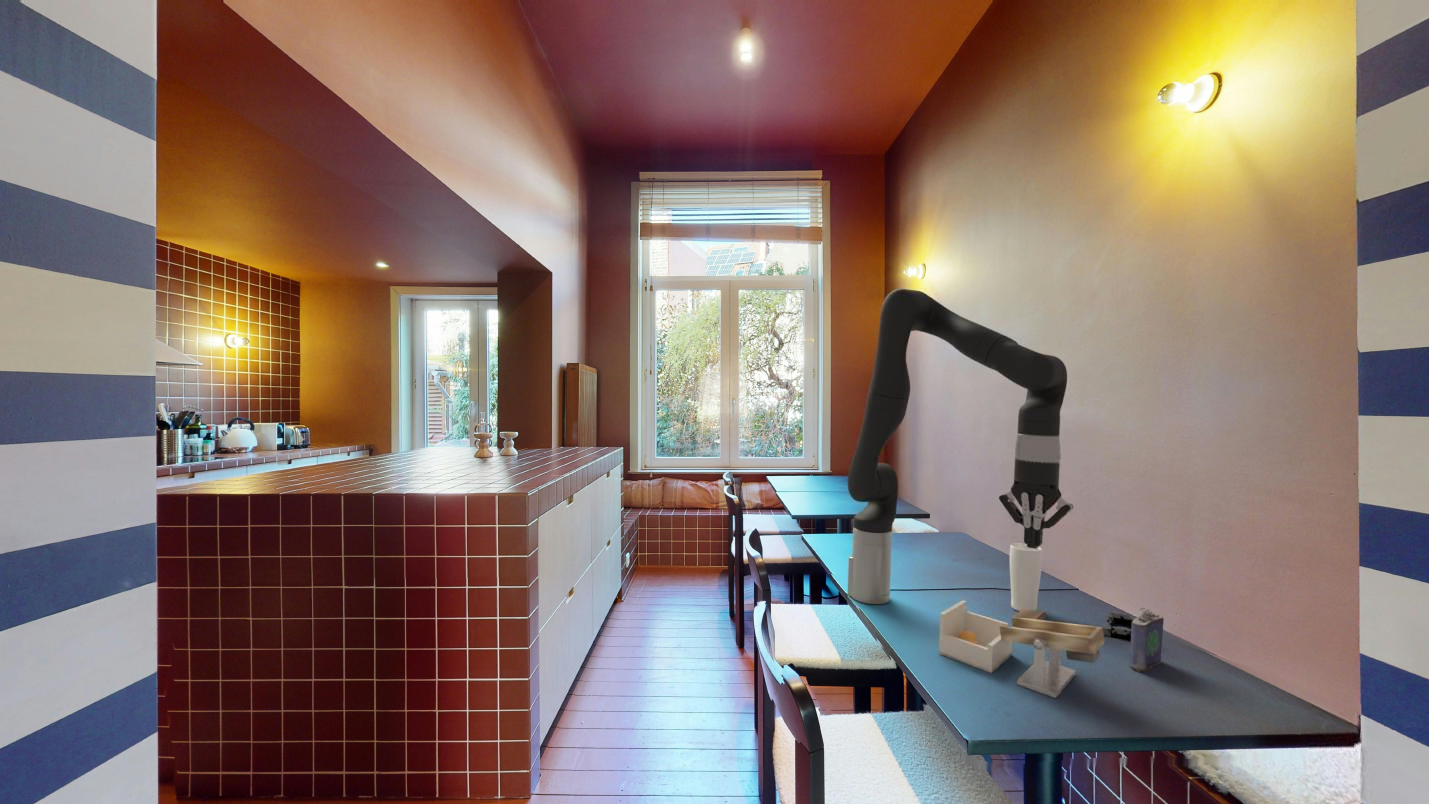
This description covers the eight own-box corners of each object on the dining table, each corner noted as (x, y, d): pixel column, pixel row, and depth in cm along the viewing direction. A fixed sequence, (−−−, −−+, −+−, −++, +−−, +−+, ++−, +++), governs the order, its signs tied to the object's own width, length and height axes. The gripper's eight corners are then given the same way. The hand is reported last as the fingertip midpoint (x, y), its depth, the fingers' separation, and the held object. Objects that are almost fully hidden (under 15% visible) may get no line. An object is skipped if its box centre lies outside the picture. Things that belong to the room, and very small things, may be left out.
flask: (1141, 673, 104) (1144, 616, 104) (1123, 666, 107) (1126, 610, 107) (1164, 662, 109) (1166, 607, 109) (1146, 656, 112) (1148, 602, 111)
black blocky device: (1090, 638, 121) (1090, 616, 121) (1082, 625, 127) (1083, 605, 127) (1161, 649, 116) (1162, 627, 116) (1149, 636, 123) (1150, 615, 122)
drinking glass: (1044, 616, 130) (1047, 552, 130) (1012, 613, 132) (1015, 549, 131) (1034, 605, 137) (1036, 544, 137) (1003, 602, 138) (1006, 542, 138)
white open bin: (938, 653, 110) (940, 613, 110) (961, 638, 117) (962, 600, 117) (991, 673, 103) (993, 629, 103) (1011, 654, 110) (1013, 614, 110)
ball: (953, 632, 112) (971, 634, 109) (960, 627, 114) (978, 629, 112) (957, 650, 111) (975, 652, 109) (964, 645, 113) (982, 647, 111)
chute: (1003, 651, 103) (999, 626, 104) (1026, 632, 112) (1022, 608, 113) (1097, 666, 93) (1092, 638, 93) (1114, 643, 102) (1110, 618, 102)
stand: (1017, 684, 99) (1019, 635, 99) (1039, 662, 108) (1040, 617, 107) (1055, 698, 95) (1057, 647, 95) (1075, 674, 103) (1077, 627, 103)
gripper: (993, 455, 111) (989, 543, 111) (1071, 463, 101) (1066, 559, 102) (1007, 453, 116) (1003, 536, 116) (1082, 460, 106) (1077, 551, 107)
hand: (1032, 547), depth 109 cm, fingers closed
